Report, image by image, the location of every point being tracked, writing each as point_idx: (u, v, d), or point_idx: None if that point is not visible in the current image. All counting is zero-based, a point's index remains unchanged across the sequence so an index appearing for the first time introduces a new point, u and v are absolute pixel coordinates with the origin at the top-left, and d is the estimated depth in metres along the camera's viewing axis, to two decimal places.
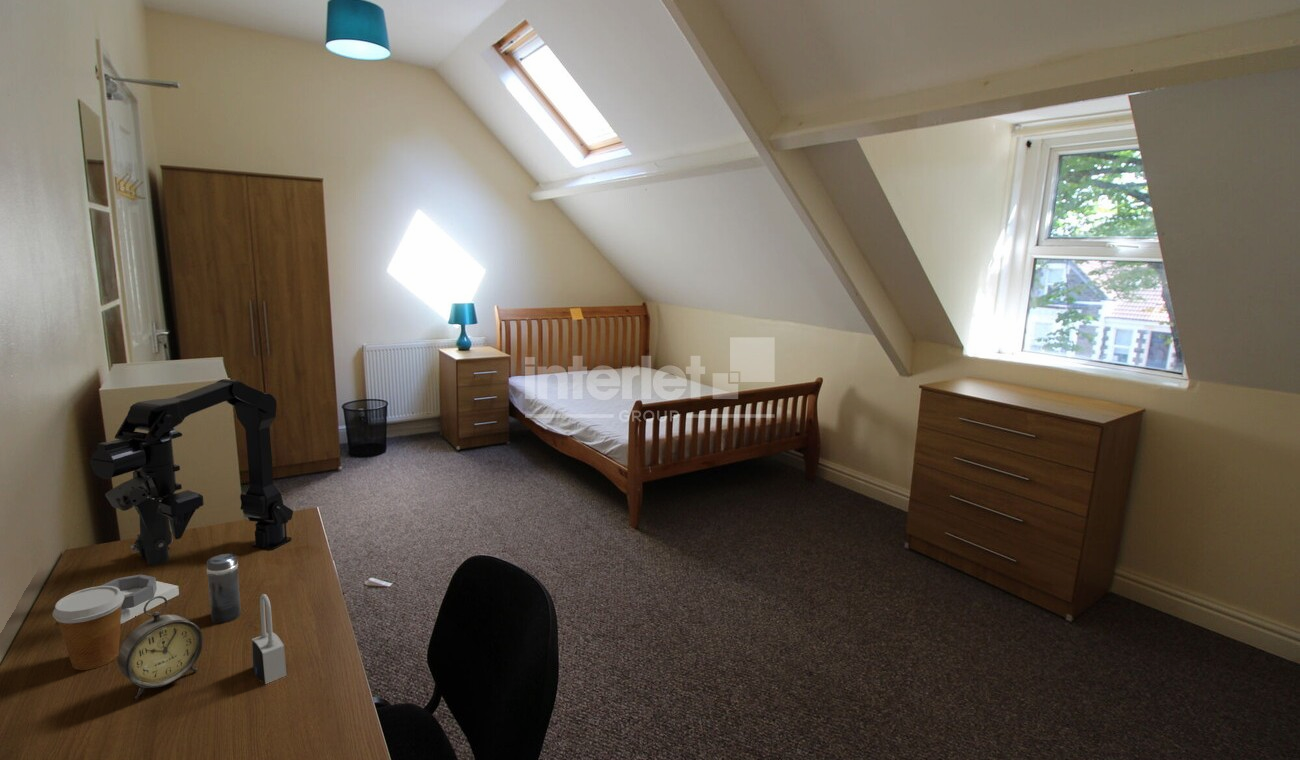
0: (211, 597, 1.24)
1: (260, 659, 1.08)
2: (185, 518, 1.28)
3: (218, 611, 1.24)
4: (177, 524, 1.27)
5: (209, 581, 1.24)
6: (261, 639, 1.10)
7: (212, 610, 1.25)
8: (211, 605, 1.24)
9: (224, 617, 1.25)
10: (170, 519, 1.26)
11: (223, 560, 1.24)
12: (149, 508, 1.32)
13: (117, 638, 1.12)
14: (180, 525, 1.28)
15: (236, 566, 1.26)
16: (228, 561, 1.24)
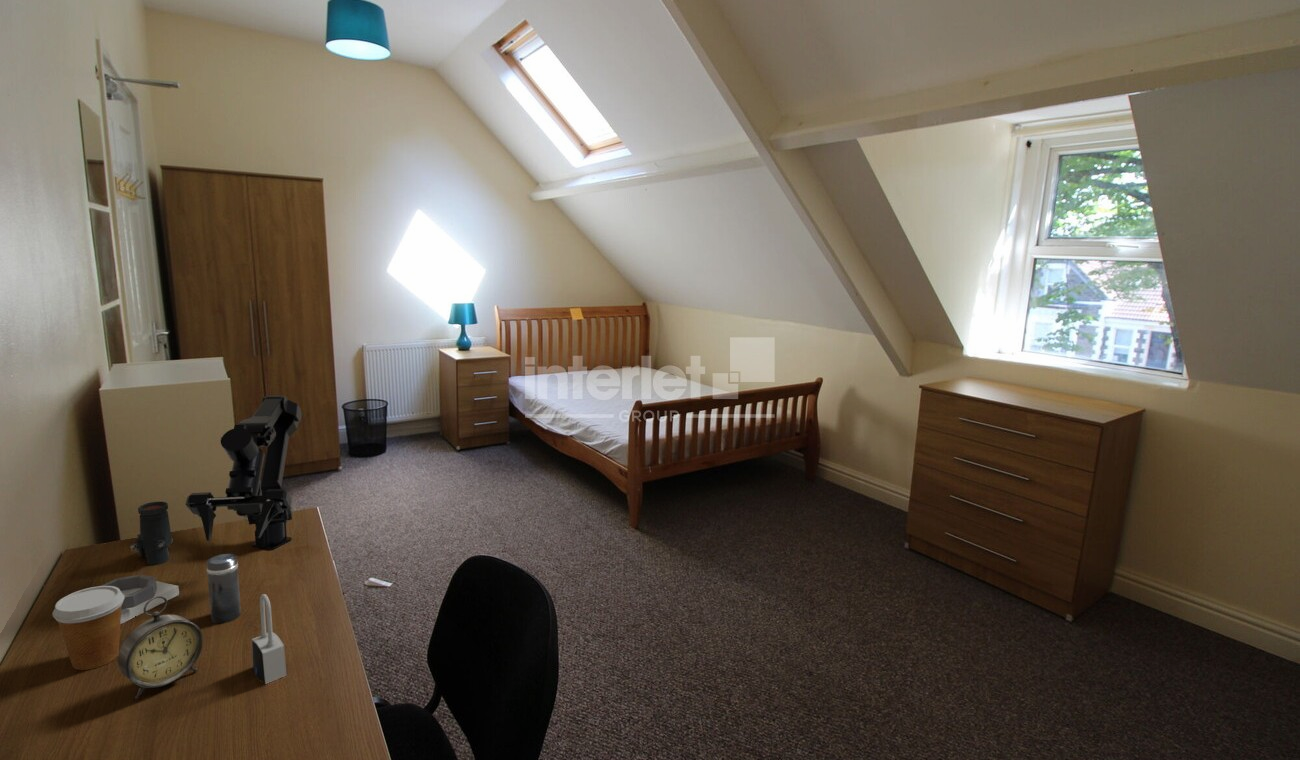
0: (211, 597, 1.24)
1: (260, 659, 1.08)
2: None
3: (218, 611, 1.24)
4: None
5: (209, 581, 1.24)
6: (261, 639, 1.10)
7: (212, 610, 1.25)
8: (211, 605, 1.24)
9: (224, 617, 1.25)
10: None
11: (223, 560, 1.24)
12: None
13: (117, 638, 1.12)
14: None
15: (236, 566, 1.26)
16: (228, 561, 1.24)
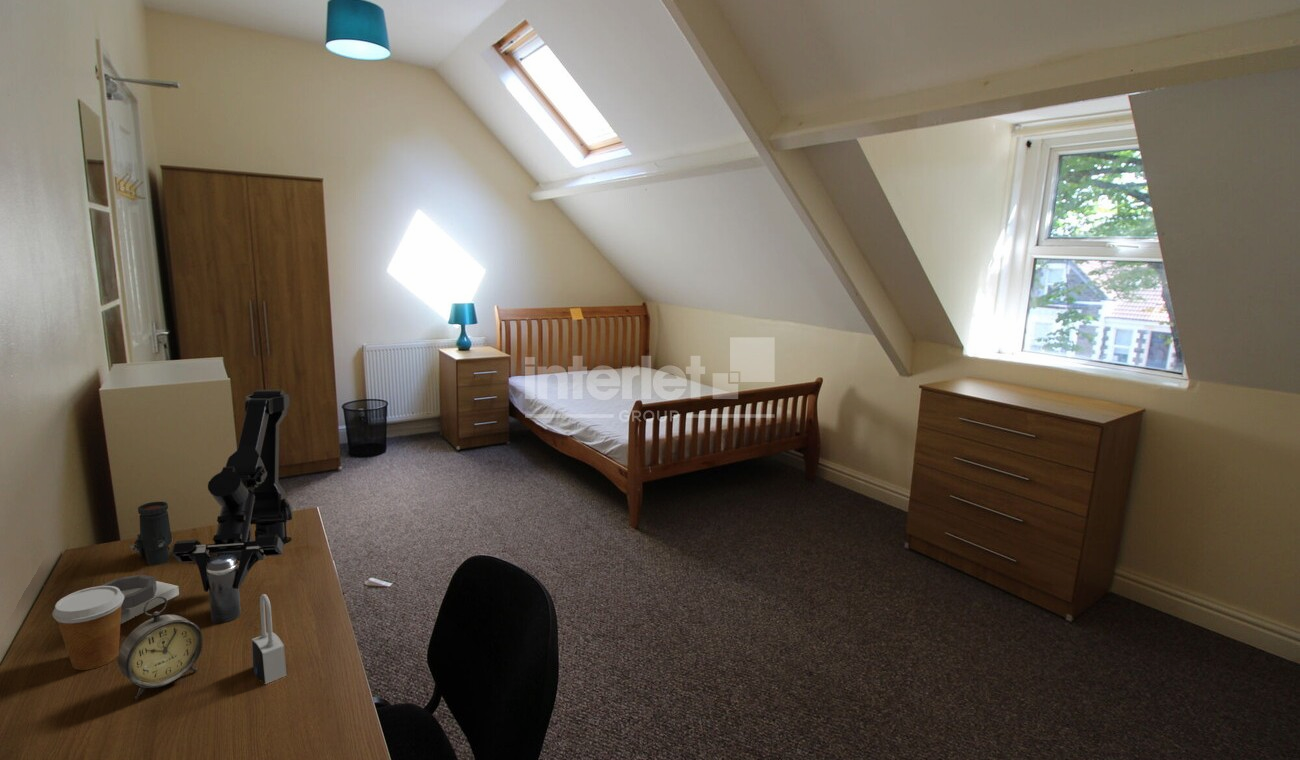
0: (211, 597, 1.24)
1: (260, 659, 1.08)
2: None
3: (218, 611, 1.24)
4: None
5: (209, 581, 1.24)
6: (261, 639, 1.10)
7: (212, 610, 1.25)
8: (211, 605, 1.24)
9: (224, 617, 1.25)
10: None
11: (223, 560, 1.24)
12: None
13: (117, 638, 1.12)
14: None
15: (236, 566, 1.26)
16: (228, 561, 1.24)
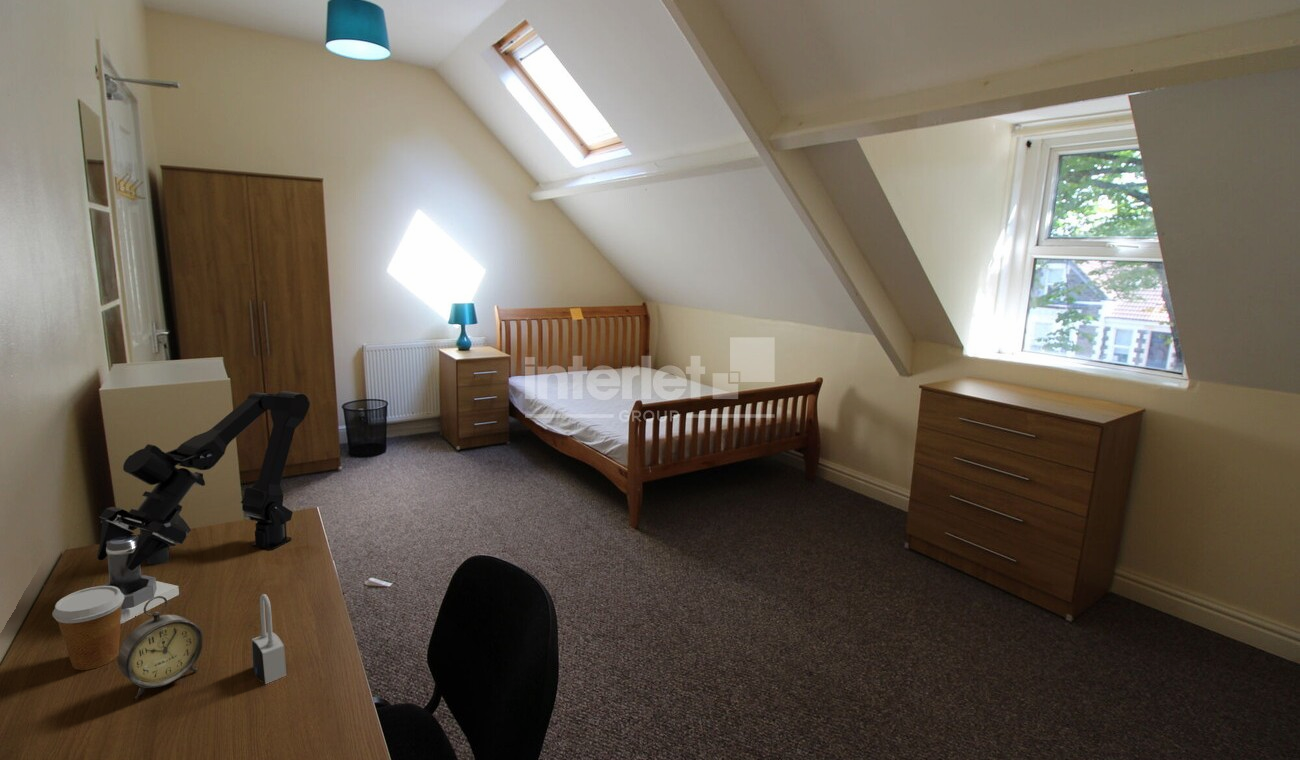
0: None
1: (260, 659, 1.08)
2: None
3: None
4: None
5: None
6: (261, 639, 1.10)
7: None
8: None
9: None
10: None
11: (120, 541, 1.25)
12: None
13: (117, 638, 1.12)
14: None
15: (129, 550, 1.25)
16: (120, 543, 1.24)
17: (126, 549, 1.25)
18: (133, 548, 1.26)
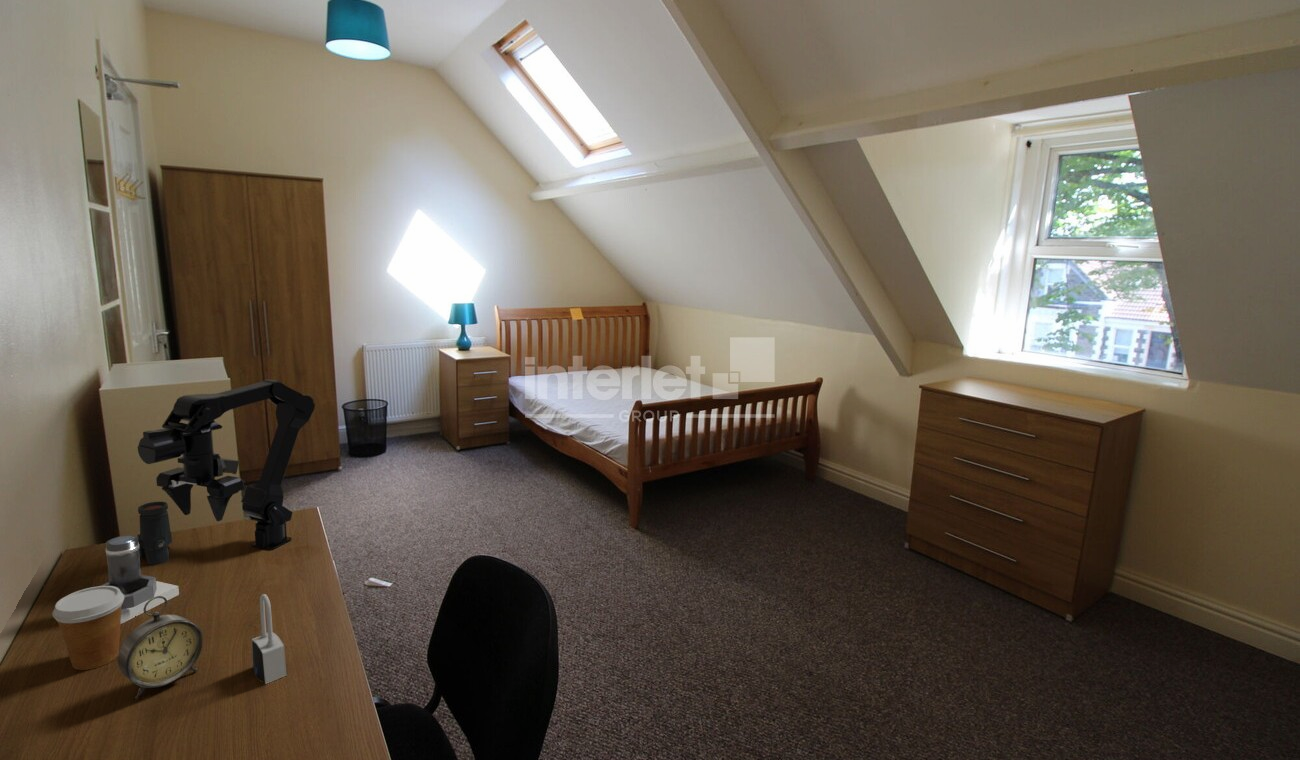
0: None
1: (260, 659, 1.08)
2: None
3: None
4: None
5: None
6: (261, 639, 1.10)
7: None
8: None
9: None
10: None
11: (119, 542, 1.25)
12: None
13: (117, 638, 1.12)
14: None
15: (128, 551, 1.25)
16: (120, 544, 1.24)
17: (125, 550, 1.25)
18: (132, 549, 1.26)
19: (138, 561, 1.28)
